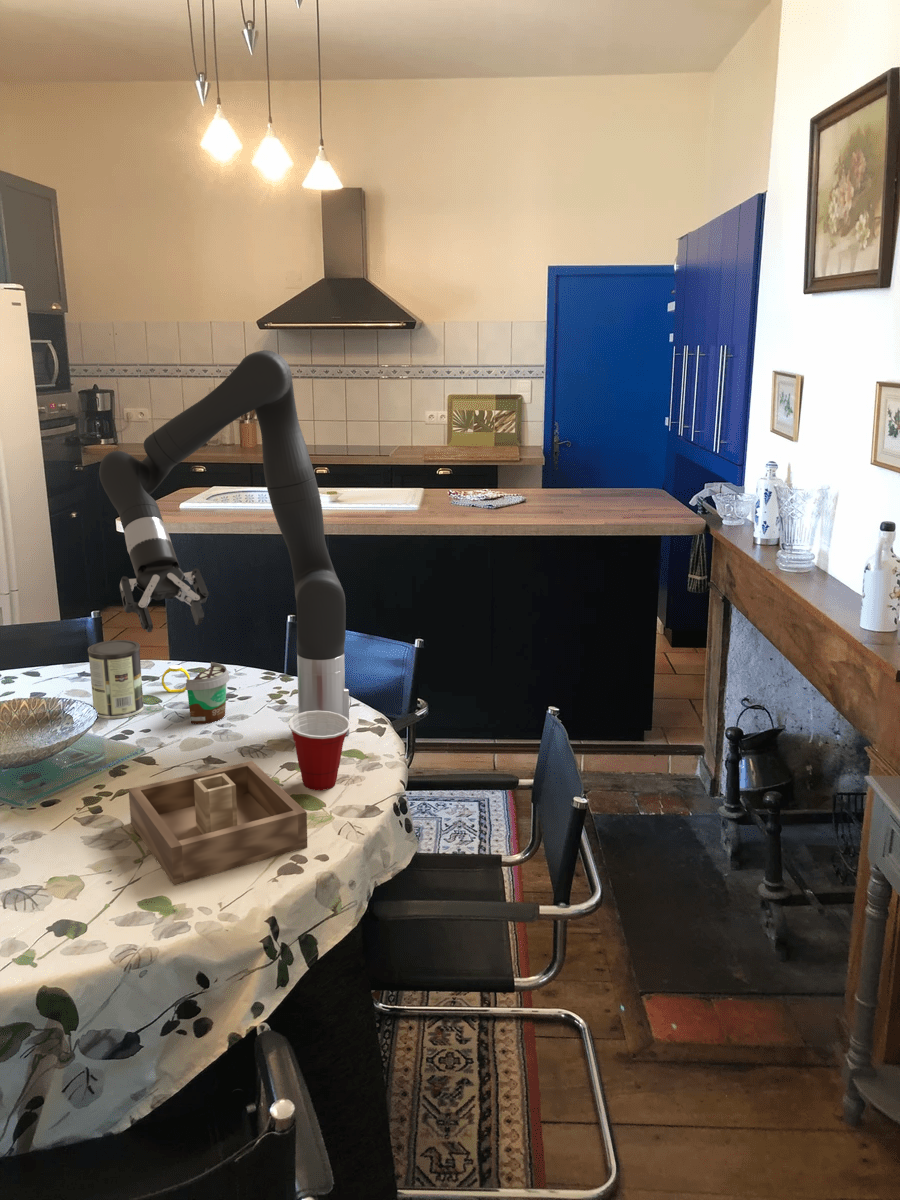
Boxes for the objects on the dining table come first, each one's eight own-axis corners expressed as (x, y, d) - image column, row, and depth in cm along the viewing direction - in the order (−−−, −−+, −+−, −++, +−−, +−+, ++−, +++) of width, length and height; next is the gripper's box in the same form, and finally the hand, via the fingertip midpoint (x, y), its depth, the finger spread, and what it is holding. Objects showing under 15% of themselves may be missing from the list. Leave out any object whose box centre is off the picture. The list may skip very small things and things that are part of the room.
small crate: (226, 818, 155) (224, 773, 153) (237, 831, 151) (235, 784, 149) (196, 826, 152) (193, 780, 150) (207, 839, 148) (204, 792, 146)
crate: (253, 792, 166) (252, 760, 164) (307, 847, 148) (306, 812, 147) (130, 822, 155) (128, 788, 153) (173, 885, 137) (171, 848, 136)
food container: (215, 729, 193) (213, 682, 190) (187, 726, 194) (185, 680, 191) (240, 708, 205) (238, 663, 202) (213, 705, 206) (211, 661, 203)
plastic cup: (325, 803, 163) (323, 738, 159) (277, 787, 168) (275, 724, 165) (363, 780, 171) (363, 718, 168) (316, 766, 177) (315, 705, 174)
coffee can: (122, 698, 209) (117, 636, 205) (154, 708, 204) (150, 645, 200) (82, 712, 200) (76, 648, 197) (114, 723, 195) (109, 657, 192)
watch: (189, 690, 215) (190, 665, 214) (189, 694, 213) (189, 669, 211) (162, 689, 214) (162, 664, 213) (161, 693, 212) (161, 668, 210)
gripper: (112, 540, 163) (136, 621, 157) (194, 532, 171) (220, 609, 164) (106, 564, 168) (129, 643, 162) (185, 556, 176) (210, 631, 170)
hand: (175, 626), depth 163 cm, fingers open, 8 cm apart
